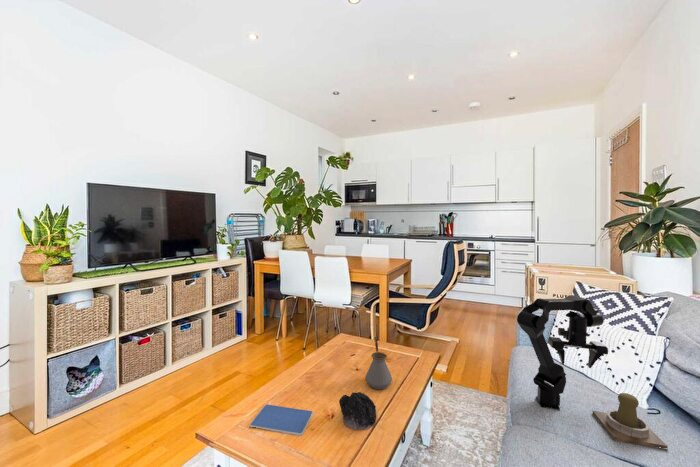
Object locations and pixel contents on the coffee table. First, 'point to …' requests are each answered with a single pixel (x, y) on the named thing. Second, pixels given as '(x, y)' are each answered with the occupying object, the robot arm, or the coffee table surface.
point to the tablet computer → (282, 419)
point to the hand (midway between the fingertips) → (575, 366)
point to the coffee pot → (378, 371)
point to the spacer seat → (628, 430)
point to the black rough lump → (358, 411)
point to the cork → (627, 410)
